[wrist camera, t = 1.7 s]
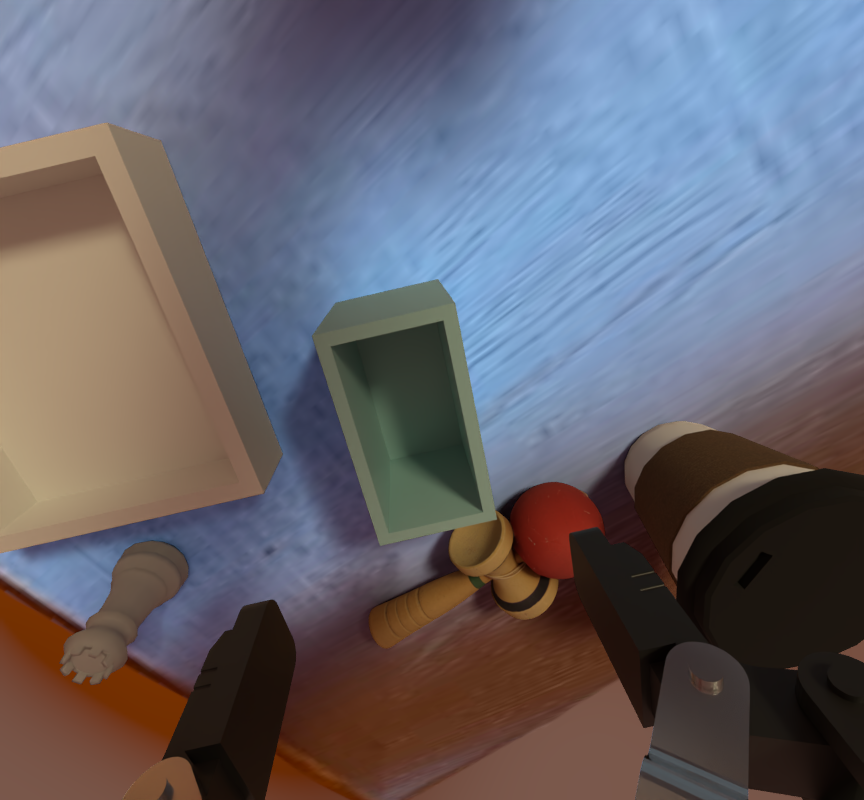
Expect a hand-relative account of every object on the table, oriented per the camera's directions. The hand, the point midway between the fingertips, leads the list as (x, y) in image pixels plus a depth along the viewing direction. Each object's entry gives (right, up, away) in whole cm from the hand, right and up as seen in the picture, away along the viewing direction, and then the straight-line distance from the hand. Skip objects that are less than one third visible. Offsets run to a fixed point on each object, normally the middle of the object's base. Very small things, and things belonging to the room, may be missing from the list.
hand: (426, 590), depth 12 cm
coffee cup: (+16, +1, +20) cm, 26 cm away
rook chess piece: (-19, -6, +20) cm, 28 cm away
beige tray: (-19, +8, +14) cm, 25 cm away
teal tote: (-1, +6, +16) cm, 17 cm away
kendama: (+3, -6, +21) cm, 22 cm away
